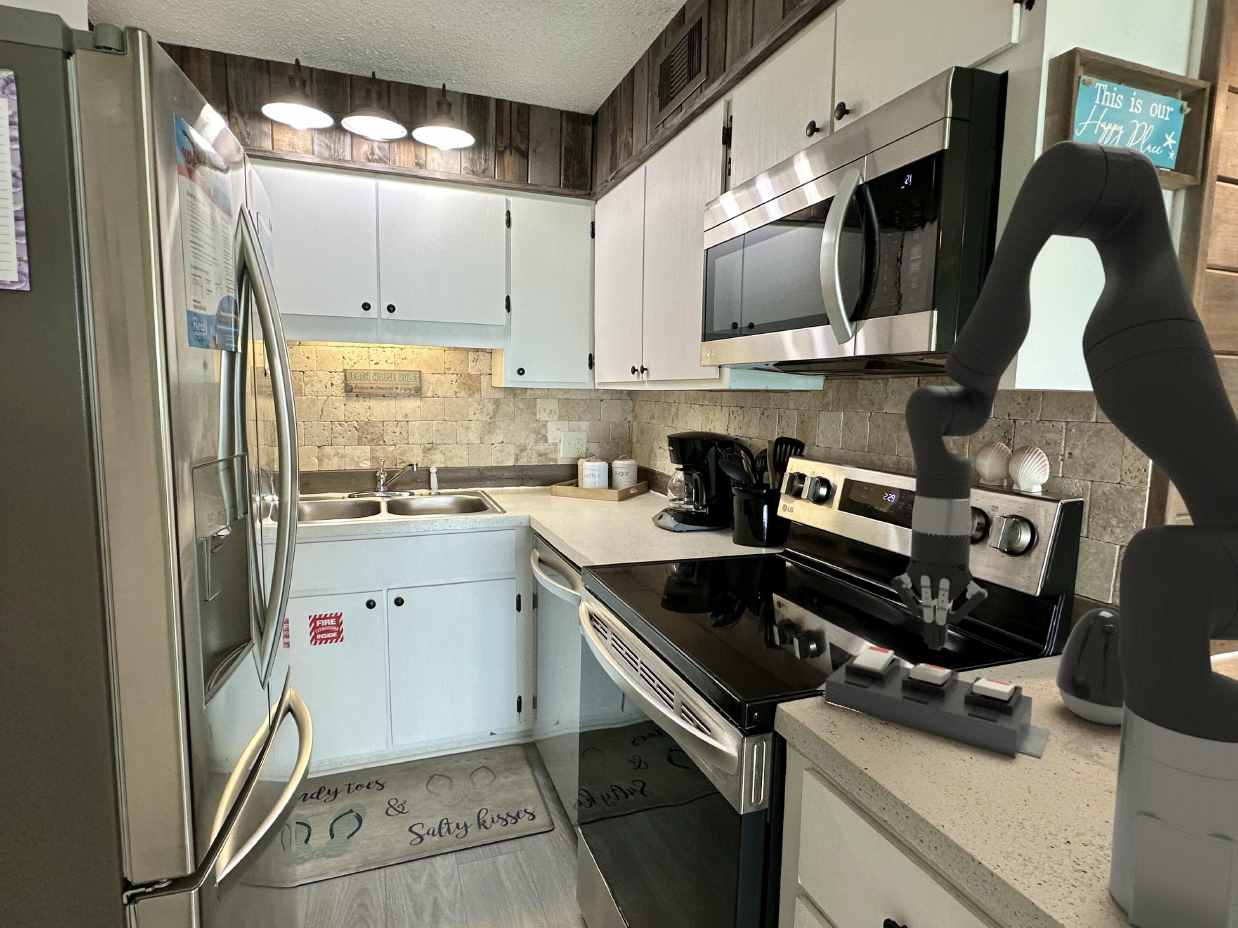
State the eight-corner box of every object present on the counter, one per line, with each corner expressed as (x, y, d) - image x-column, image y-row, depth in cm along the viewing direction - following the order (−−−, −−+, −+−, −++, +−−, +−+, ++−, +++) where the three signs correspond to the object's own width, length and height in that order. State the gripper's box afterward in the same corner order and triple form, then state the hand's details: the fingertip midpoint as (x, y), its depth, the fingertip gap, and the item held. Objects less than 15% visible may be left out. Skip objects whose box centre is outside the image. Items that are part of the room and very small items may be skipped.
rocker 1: (880, 675, 98) (880, 668, 98) (853, 668, 101) (852, 662, 100) (893, 656, 103) (893, 650, 102) (867, 650, 105) (866, 644, 105)
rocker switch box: (1038, 764, 82) (1040, 727, 81) (808, 698, 100) (809, 667, 99) (1051, 727, 91) (1053, 694, 91) (839, 672, 109) (840, 644, 109)
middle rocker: (940, 684, 93) (941, 676, 93) (909, 676, 95) (910, 668, 96) (950, 677, 98) (951, 669, 98) (921, 670, 100) (921, 662, 100)
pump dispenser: (1058, 723, 92) (1065, 614, 91) (1051, 694, 101) (1058, 594, 100) (1152, 741, 87) (1161, 626, 86) (1136, 709, 97) (1144, 604, 95)
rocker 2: (1006, 700, 88) (1007, 691, 88) (972, 691, 90) (973, 683, 91) (1014, 692, 93) (1015, 684, 93) (981, 685, 95) (982, 677, 95)
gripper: (884, 526, 97) (879, 644, 99) (987, 537, 89) (981, 666, 91) (900, 519, 103) (895, 631, 105) (998, 530, 95) (992, 651, 96)
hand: (935, 647), depth 98 cm, fingers closed
